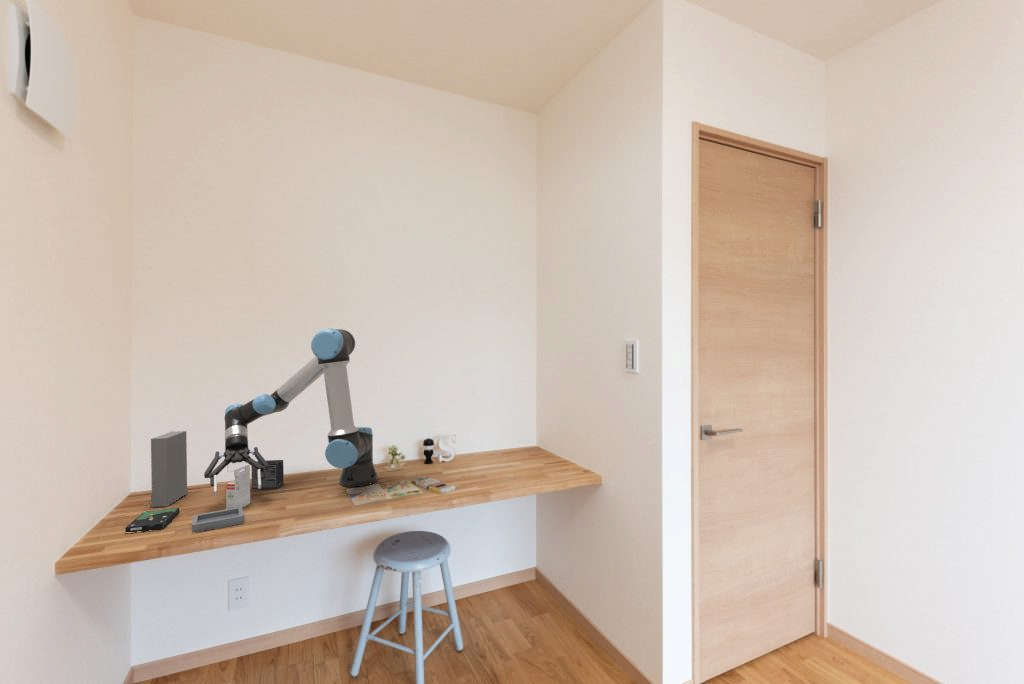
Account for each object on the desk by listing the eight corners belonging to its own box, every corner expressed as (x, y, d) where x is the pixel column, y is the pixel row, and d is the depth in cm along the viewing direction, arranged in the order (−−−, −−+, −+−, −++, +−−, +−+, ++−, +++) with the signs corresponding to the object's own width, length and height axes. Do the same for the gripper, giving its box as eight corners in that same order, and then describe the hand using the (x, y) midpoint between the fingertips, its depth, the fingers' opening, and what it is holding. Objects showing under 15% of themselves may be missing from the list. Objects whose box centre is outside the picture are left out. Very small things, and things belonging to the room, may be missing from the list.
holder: (242, 514, 161) (242, 506, 161) (243, 523, 153) (243, 515, 153) (193, 522, 154) (193, 515, 154) (192, 533, 145) (192, 525, 145)
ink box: (225, 511, 164) (225, 470, 164) (241, 503, 172) (241, 464, 172) (235, 511, 163) (234, 470, 163) (250, 504, 171) (250, 464, 171)
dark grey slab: (170, 495, 182) (169, 431, 182) (187, 494, 183) (186, 430, 183) (149, 508, 168) (148, 439, 168) (167, 506, 169) (166, 438, 169)
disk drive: (164, 531, 149) (179, 514, 163) (164, 522, 149) (179, 506, 163) (124, 536, 145) (144, 518, 159) (124, 527, 145) (143, 510, 159)
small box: (284, 484, 195) (284, 459, 195) (278, 489, 188) (277, 463, 188) (258, 485, 194) (258, 459, 194) (250, 490, 187) (250, 464, 187)
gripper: (272, 442, 187) (276, 489, 175) (197, 450, 174) (196, 501, 161) (273, 431, 183) (277, 478, 170) (196, 438, 170) (195, 490, 157)
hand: (238, 490), depth 166 cm, fingers open, 13 cm apart
